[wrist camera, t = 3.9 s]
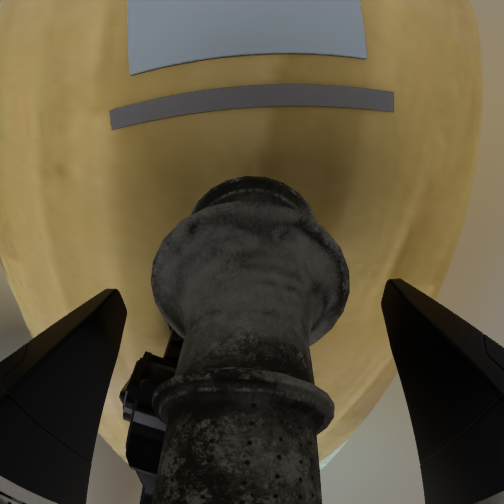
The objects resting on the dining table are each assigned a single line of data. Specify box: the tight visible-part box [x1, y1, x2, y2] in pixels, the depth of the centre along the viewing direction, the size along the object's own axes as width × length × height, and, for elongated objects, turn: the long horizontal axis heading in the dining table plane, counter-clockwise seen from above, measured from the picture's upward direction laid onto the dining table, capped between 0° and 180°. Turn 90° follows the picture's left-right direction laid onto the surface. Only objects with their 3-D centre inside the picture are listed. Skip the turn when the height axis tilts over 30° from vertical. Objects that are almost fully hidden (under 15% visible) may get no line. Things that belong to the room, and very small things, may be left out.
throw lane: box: [109, 0, 394, 130], centre depth 12 cm, size 14×20×1 cm
